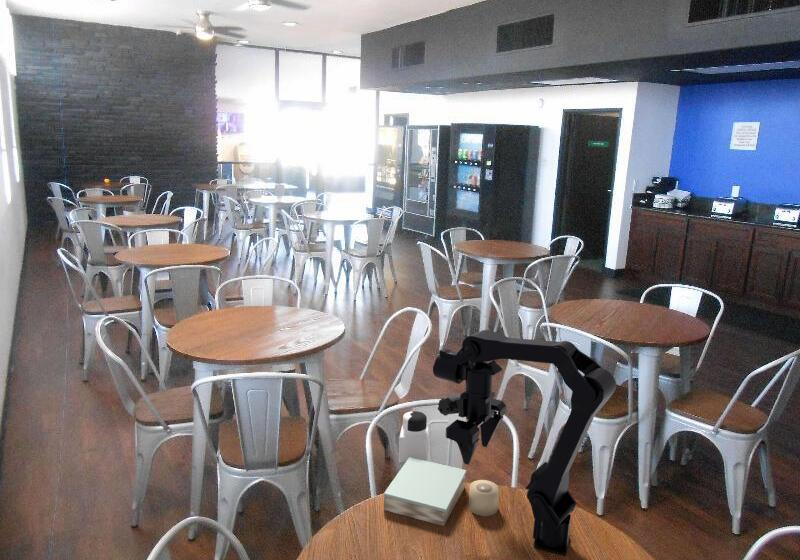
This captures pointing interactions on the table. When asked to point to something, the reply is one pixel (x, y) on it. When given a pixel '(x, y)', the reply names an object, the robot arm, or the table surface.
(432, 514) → the box
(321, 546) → the table surface
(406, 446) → the medicine bottle
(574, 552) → the table surface
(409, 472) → the lid
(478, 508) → the cream dome knob
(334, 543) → the table surface
